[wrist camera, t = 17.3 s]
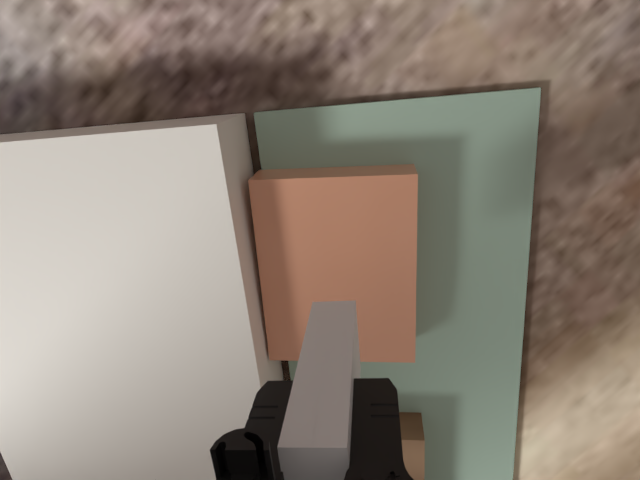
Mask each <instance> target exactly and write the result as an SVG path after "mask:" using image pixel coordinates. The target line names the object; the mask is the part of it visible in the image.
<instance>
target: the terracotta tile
mask: <svg viewBox="0 0 640 480" xmlns="http://www.w3.org/2000/svg"><path fill="white" fill-rule="evenodd" d="M248 184H249V192H250V200H251V209H252V217H253V226H254V234H255V242H256V251H257V259H258V267H259V276H260V284H261V292H262V301H263V309H264V317H265V326H266V334H267V343H268V351H269V359H270V360H284V361H298V360H299V356H300V352H301V348H302V344H303V340H304V335H305V331H306V327H307V323H308V319H309V315H310V311H311V307H312V302H326V301H355V300H356V311H357V324H358V338H359V352H360V362H402V363H415V346H416V275H417V203H418V173H417V170H416V168H415V165H414V164H400V165H374V166H347V167H320V168H294V169H267V170H259V171H257V172H256V173H255V174H254V175H253V176H252V177H251V178H250V179H249V180H248Z"/></svg>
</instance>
